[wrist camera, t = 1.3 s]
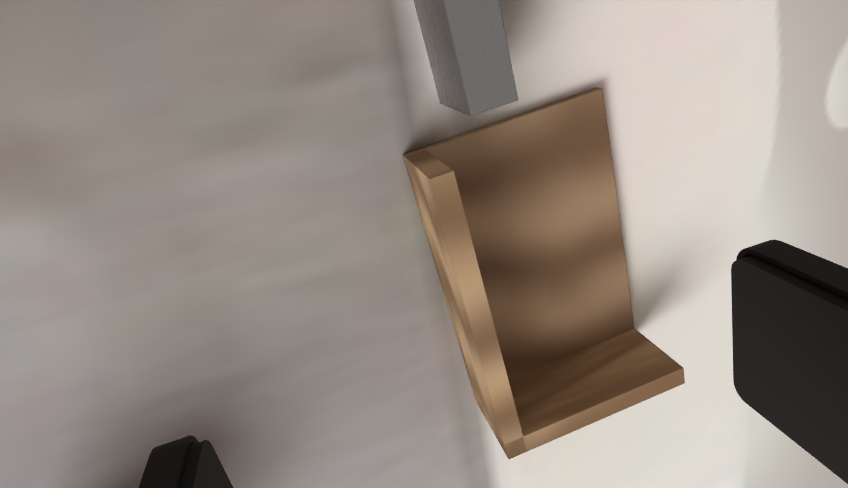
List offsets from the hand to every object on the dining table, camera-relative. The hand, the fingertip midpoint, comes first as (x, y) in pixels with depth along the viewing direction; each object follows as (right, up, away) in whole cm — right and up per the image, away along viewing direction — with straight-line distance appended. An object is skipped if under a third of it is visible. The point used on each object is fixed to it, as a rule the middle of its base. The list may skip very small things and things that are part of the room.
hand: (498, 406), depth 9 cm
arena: (+5, +2, +25) cm, 26 cm away
